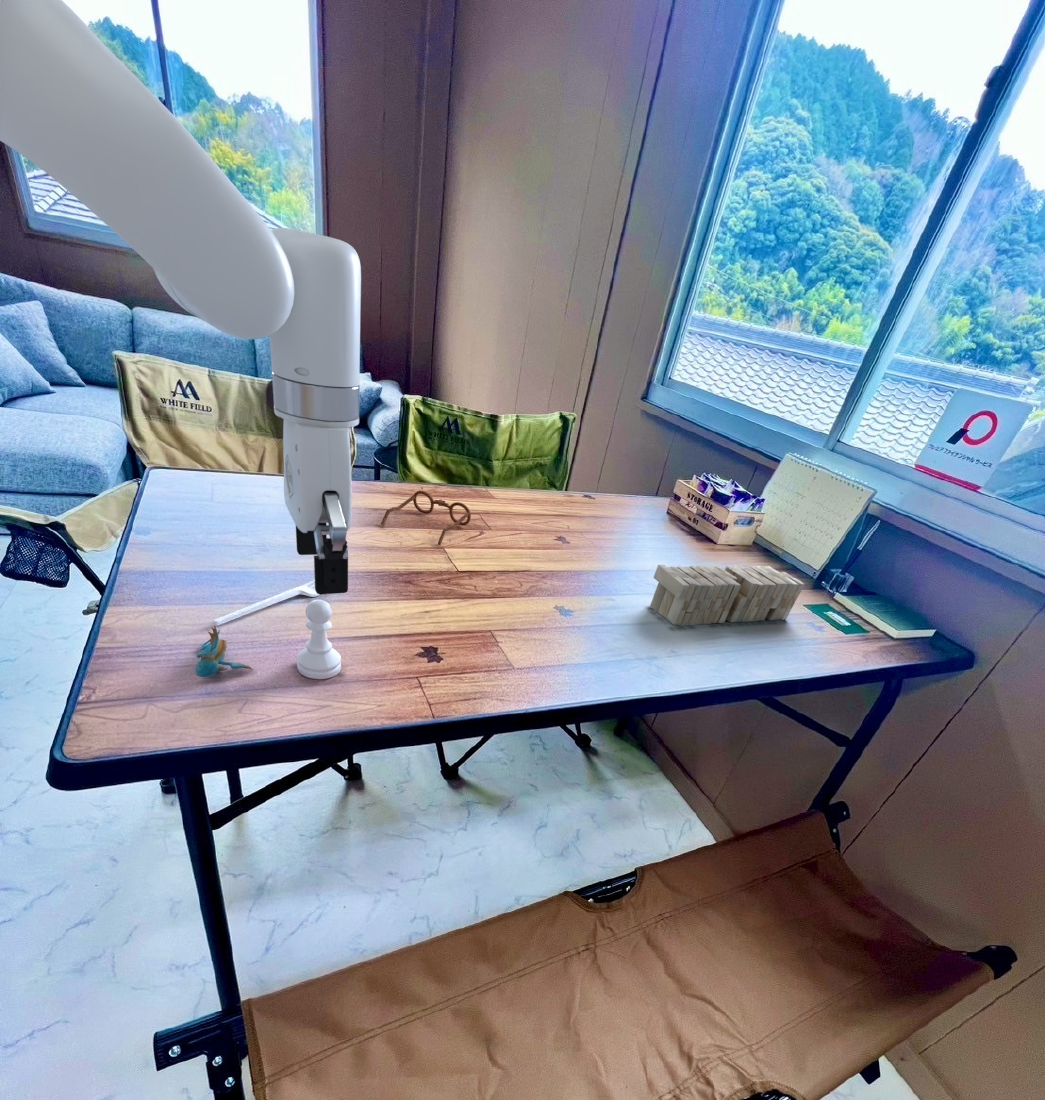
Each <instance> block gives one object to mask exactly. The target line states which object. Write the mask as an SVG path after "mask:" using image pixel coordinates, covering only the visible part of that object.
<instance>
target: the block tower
mask: <svg viewBox="0 0 1045 1100" xmlns="http://www.w3.org/2000/svg"><path fill="white" fill-rule="evenodd" d="M653 579H654V580H656V582H657V586H656V588H655V591H654V593H653V596H652V599H651V602H650V604H649V608H651V609H652V610H654V611H655V612H656V613H659V614H660V616H662V617H663V618H665V619H666V620H668V622H670V623H671V624H672V625H674V626H677V625H678V626H681V627H682V626H691V625H695V626H696V625H704V624H705V625H710V624H717V623H718V624H724V623H725V622H726V621H728V622H729V623H736V622H737V623H738V622H739V623H741V622H743V623H745V622H758V621H765V620H766V619H767V620H769V621H775V620H777V621H778V620H781V621H784V620H785V621H786V620H787V618H788V617H789V615H790V613H791V611H792V609H793V607H794V605H795V603H796V601H797V600H798V598H799V596H800V594H801V592H802V590H803V588H804V586H805V583H804V582H803V581H801V580H800V579H798V578H797V577H796V578H795V577H794V576H792V575H790V574H789V573H788V572H786V571H778V570H776V569H775V568H774V567H772V566H769V565H768V566H767V565H765V566H762V565H761V566H759V565H755V566H754V565H750V566H748V565H744V566H737V565H734V566H730V565H729V566H726V567H725V569H724V568H723V567H721V566H720V565H714V566H712V565H709V566H707V565H706V566H705V565H696V566H695V565H690V566H666V565H665V564H657V567H656V569H655V572H654V575H653Z"/></svg>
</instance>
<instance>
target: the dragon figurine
mask: <svg viewBox="0 0 1045 1100" xmlns="http://www.w3.org/2000/svg"><path fill="white" fill-rule="evenodd" d="M211 630H212V632H211V631H207V634H208V635H209V636H210V638H209V639H208V640H207V641H206V642H205V643H203V644H202V645H201V646H200V647H199V650H200V651H201V652H199V653H197V654H196V659H200V660H199V661H198V662H197V663H196V665H195V674H196V676H197V677H199V678H209V677H212V676H217V675H223V674H224V672H222V671H226V670H229V668H228V667H225V666H230V668H231V669H235V670H237V669H245V670H246V669H247V670H251V671H254V669H253V667H251V666H249V665H246V664H244V663H242V662H233V661H223V660H224V658H225V656H226V651H227V648H228V646H227V645H228V643H227V640H226V639H222V638H221V639H220V637H219V635H220V633H221V630H220V629H217V626H216V625H213V627H211ZM202 651H203V652H202Z"/></svg>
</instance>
